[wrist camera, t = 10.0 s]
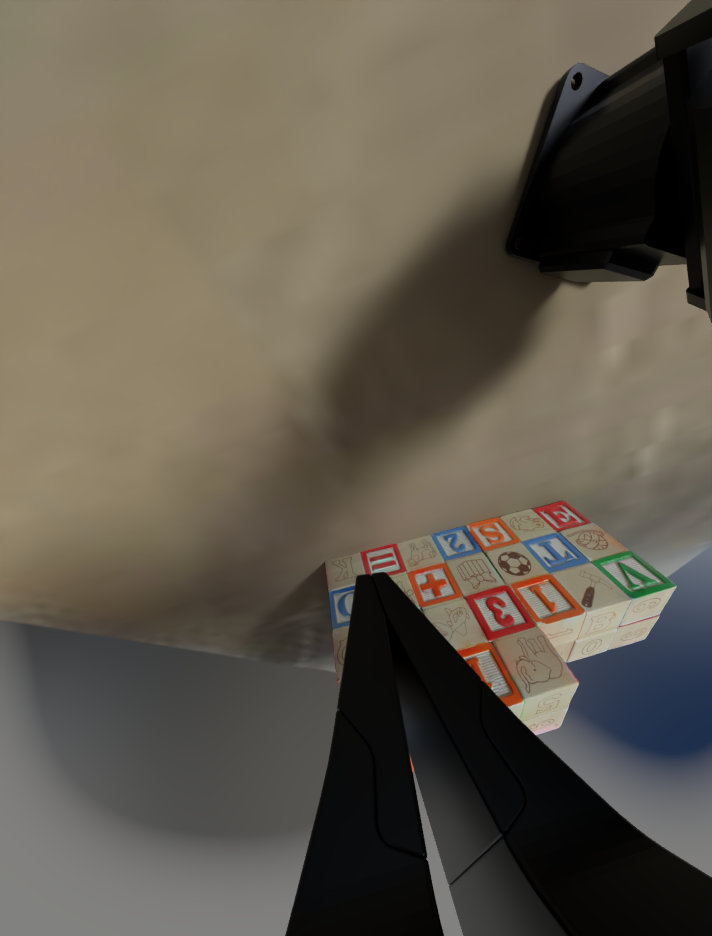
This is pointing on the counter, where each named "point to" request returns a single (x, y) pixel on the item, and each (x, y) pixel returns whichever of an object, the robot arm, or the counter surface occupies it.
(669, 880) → the robot arm
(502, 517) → the stack of blocks
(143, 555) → the counter surface
